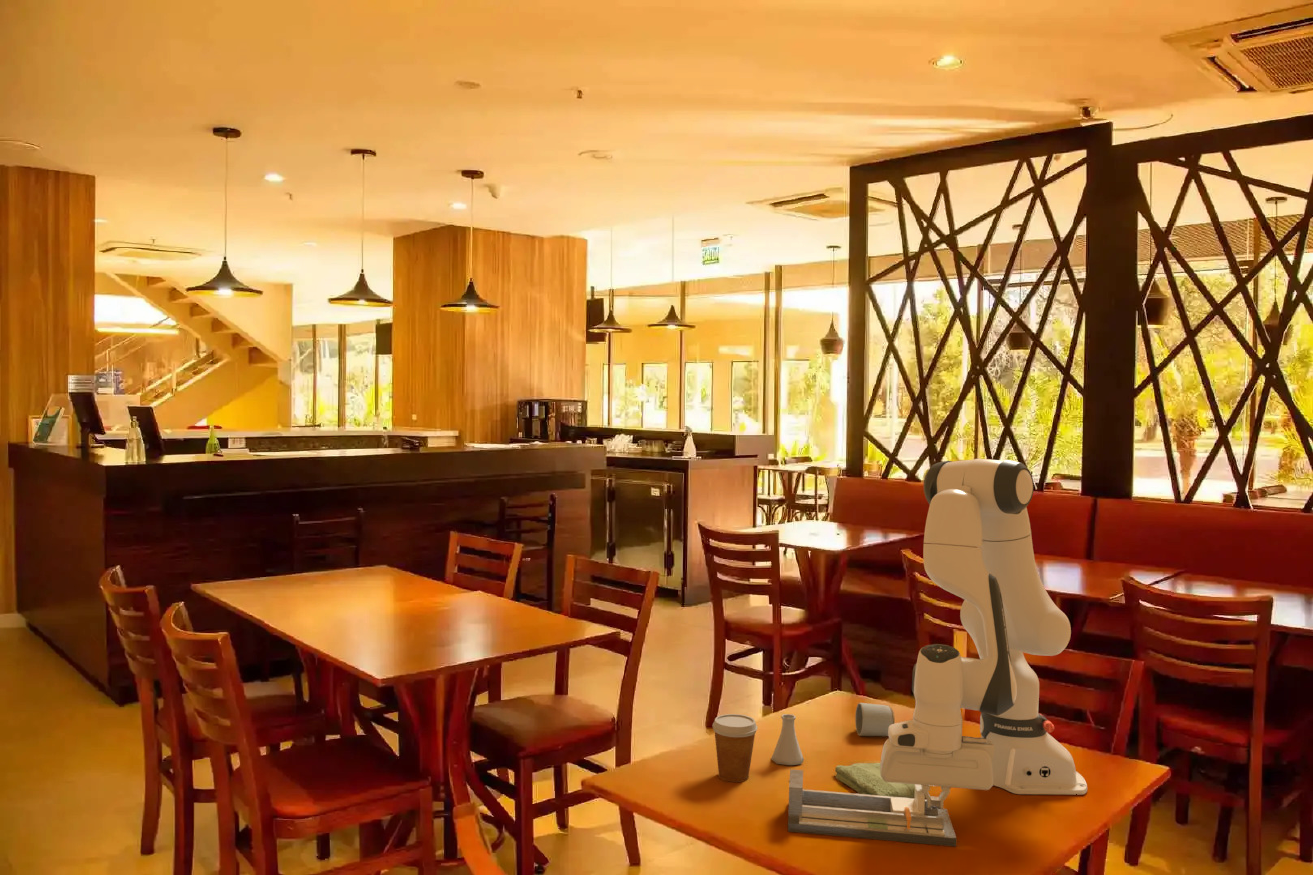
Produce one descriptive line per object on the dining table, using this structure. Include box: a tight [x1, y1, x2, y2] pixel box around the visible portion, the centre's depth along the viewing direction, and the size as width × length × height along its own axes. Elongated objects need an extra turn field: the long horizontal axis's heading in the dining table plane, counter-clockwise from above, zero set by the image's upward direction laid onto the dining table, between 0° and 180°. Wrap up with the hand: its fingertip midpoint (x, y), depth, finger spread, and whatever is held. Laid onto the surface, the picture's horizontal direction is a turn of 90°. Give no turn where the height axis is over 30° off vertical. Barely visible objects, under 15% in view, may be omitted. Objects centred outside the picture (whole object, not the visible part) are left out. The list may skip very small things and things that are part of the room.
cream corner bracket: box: [890, 784, 926, 829], centre depth 178 cm, size 6×10×5 cm, turn 171°
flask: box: [770, 713, 804, 766], centre depth 213 cm, size 7×7×10 cm
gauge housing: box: [787, 769, 957, 848], centre depth 181 cm, size 30×13×8 cm, turn 81°
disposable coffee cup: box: [711, 713, 758, 783], centre depth 203 cm, size 10×10×12 cm
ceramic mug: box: [854, 702, 896, 737], centre depth 233 cm, size 11×8×8 cm
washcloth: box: [834, 762, 927, 799], centre depth 199 cm, size 13×18×3 cm
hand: (934, 807), depth 179 cm, fingers closed
